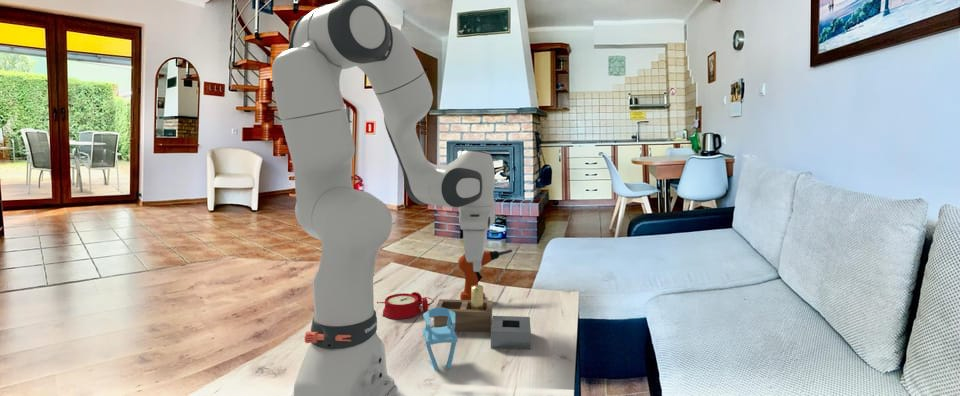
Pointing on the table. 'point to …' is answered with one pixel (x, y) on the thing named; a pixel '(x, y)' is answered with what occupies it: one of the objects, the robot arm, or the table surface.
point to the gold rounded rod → (476, 297)
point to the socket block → (511, 332)
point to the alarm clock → (404, 305)
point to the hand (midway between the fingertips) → (477, 270)
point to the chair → (440, 333)
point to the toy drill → (472, 276)
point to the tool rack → (466, 316)
